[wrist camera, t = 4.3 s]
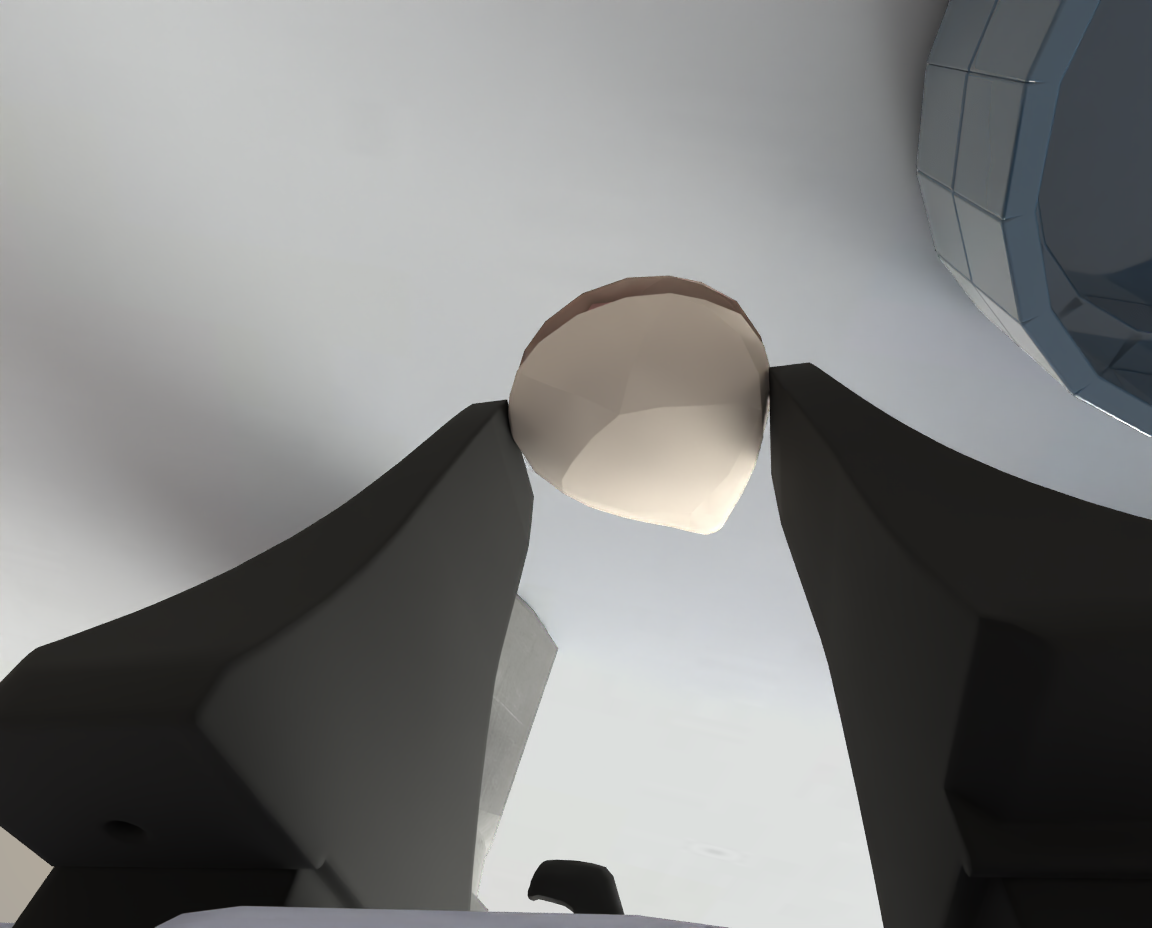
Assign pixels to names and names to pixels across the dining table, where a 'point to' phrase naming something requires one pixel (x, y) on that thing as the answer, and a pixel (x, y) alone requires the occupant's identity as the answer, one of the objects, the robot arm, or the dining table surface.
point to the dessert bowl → (1049, 184)
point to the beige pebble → (645, 401)
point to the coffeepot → (507, 735)
